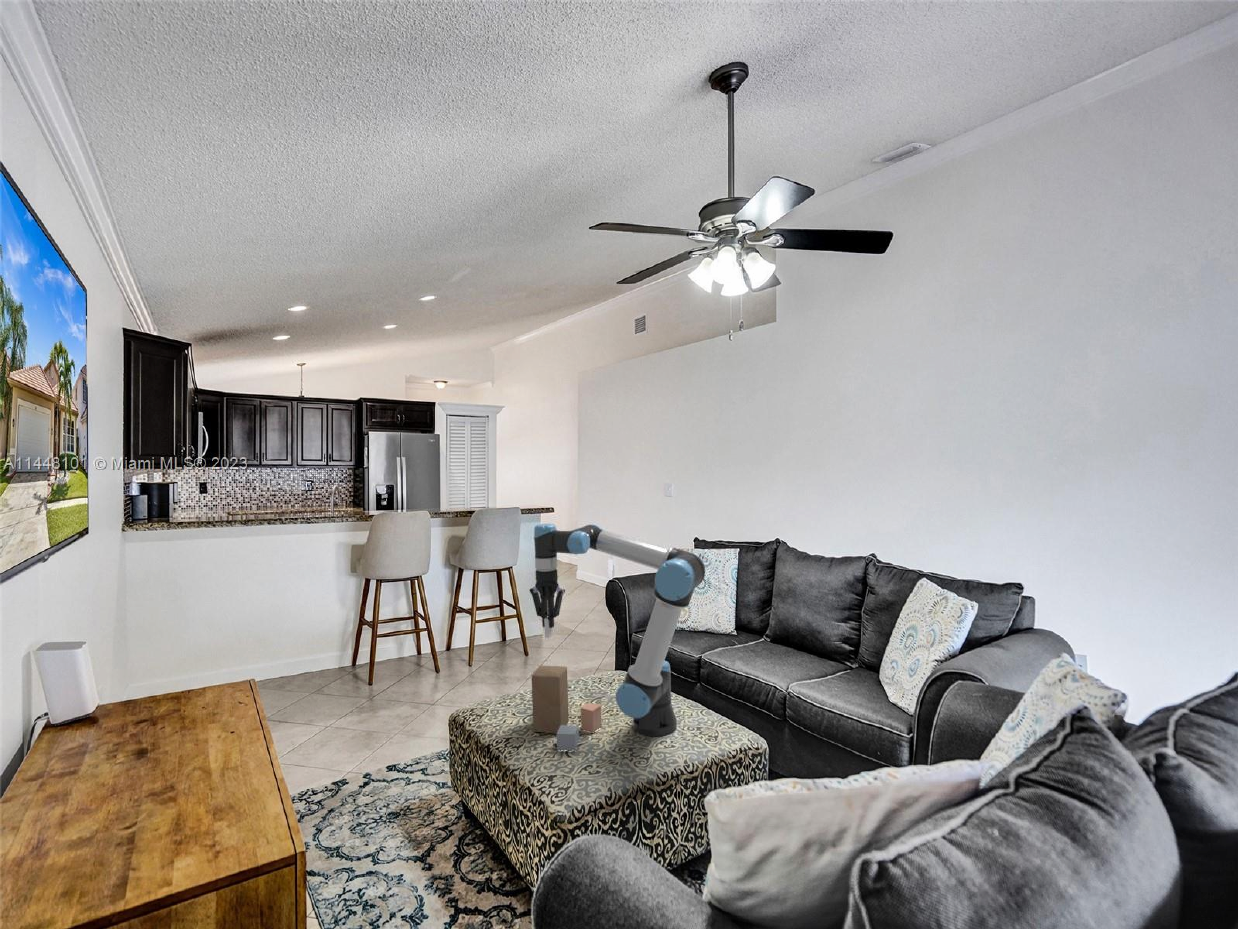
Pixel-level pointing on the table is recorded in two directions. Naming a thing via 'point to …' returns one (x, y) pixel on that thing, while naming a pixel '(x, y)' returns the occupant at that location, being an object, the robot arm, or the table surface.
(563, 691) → the wooden block
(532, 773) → the table surface
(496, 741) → the table surface
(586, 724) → the terracotta block
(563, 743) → the slate cube
